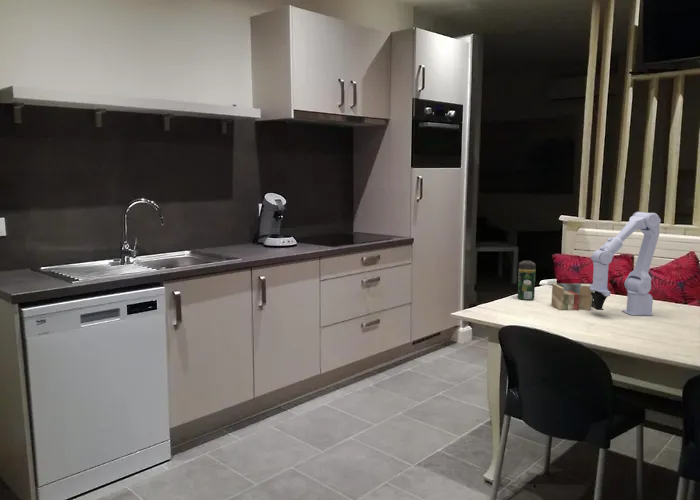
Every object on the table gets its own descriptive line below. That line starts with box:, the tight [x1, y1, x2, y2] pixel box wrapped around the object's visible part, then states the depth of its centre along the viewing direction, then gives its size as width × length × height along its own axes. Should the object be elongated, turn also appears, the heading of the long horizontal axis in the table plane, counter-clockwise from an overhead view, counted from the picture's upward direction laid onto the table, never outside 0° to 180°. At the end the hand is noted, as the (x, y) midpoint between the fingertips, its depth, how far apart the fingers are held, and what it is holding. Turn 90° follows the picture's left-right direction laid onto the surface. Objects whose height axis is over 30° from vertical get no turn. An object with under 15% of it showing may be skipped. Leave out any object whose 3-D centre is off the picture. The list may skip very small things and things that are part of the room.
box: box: [578, 283, 593, 311], centre depth 247 cm, size 5×4×11 cm
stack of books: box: [550, 283, 604, 311], centre depth 249 cm, size 20×10×10 cm, turn 91°
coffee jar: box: [517, 260, 537, 301], centre depth 267 cm, size 10×8×19 cm
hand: (598, 309), depth 236 cm, fingers closed
